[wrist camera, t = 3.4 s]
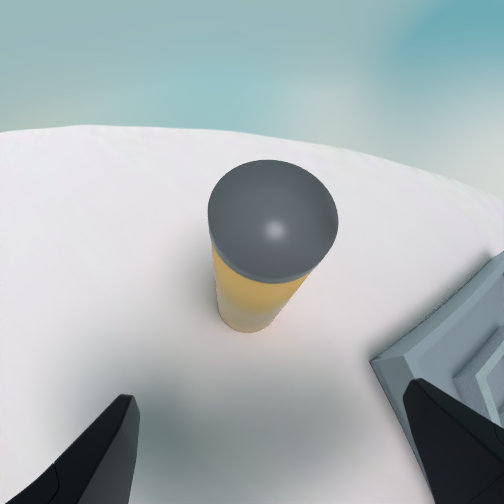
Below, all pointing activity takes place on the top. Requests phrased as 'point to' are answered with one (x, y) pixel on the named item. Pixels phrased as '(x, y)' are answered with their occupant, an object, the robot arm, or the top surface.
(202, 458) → the top surface
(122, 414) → the robot arm
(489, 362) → the socket
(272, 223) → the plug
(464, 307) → the bin
